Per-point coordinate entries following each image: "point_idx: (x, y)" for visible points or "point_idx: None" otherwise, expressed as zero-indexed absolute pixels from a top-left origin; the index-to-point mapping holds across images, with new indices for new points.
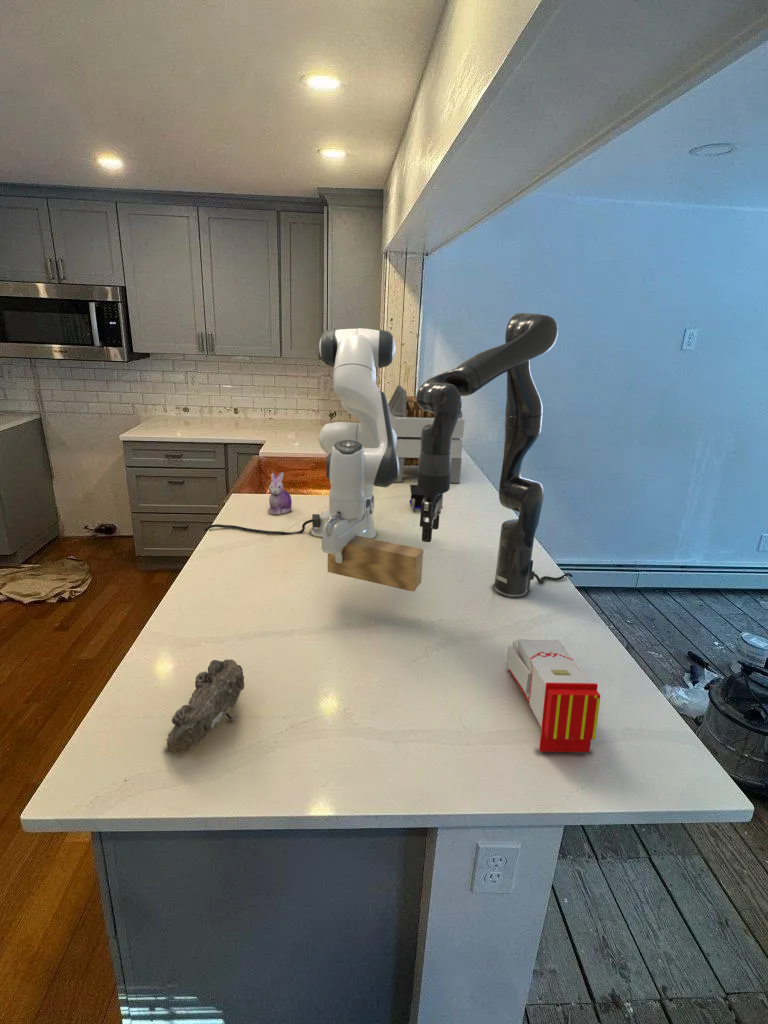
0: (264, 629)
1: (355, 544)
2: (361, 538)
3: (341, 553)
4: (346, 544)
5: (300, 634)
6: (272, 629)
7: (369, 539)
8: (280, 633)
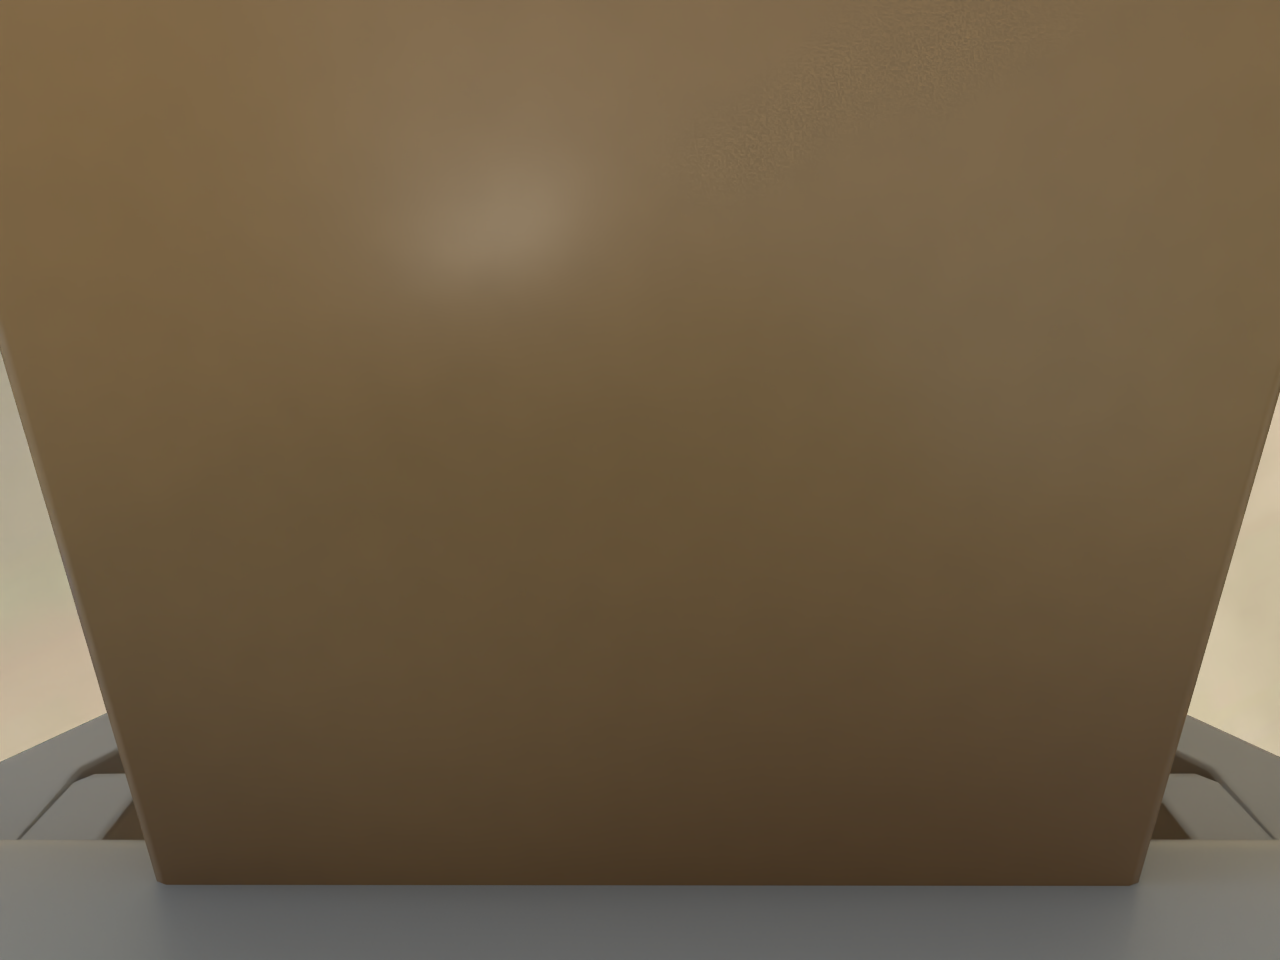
0: (1242, 721)
1: (1198, 545)
2: (317, 592)
3: (1186, 733)
4: (1249, 870)
5: (1258, 470)
6: (1230, 677)
7: (124, 114)
8: (1274, 605)
